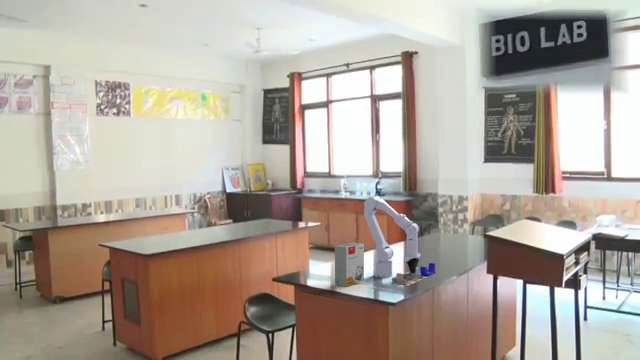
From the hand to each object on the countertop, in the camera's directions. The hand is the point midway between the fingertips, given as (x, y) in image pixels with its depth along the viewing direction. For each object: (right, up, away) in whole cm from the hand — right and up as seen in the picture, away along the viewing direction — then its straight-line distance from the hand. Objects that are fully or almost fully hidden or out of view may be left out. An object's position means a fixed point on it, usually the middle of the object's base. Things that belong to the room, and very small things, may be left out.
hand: (412, 272), depth 260 cm
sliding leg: (+2, -3, +2) cm, 4 cm away
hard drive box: (-33, -5, -3) cm, 33 cm away
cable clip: (+11, -4, +9) cm, 15 cm away
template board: (-2, -4, -3) cm, 5 cm away
